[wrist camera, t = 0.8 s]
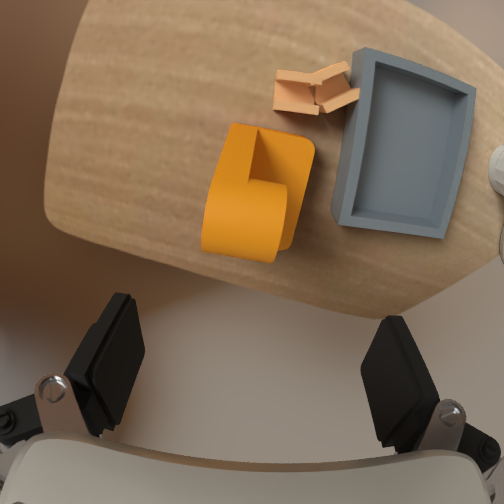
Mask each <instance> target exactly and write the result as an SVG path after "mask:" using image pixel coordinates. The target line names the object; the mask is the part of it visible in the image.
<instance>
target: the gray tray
mask: <svg viewBox="0 0 504 504" xmlns="http://www.w3.org/2000/svg"><path fill="white" fill-rule="evenodd" d="M350 87H351V89H353V88H360V92H359V99H357V100H355V101H353V102H351V103H348V105H347V113H346V120H345V127H344V134H343V141H342V147H341V154H340V160H339V166H338V172H337V178H336V184H335V189H334V195H333V200H332V205H331V213H332V215H333V216H334V218H335V220H336V222H337V224H338V225H343V226H351V227H359V228H367V229H375V230H383V231H391V232H398V233H405V234H412V235H420V236H426V237H433V238H440V239H444V236H445V233H446V230H447V227H448V223H449V220H450V217H451V214H452V210H453V207H454V203H455V200H456V196H457V193H458V189H459V185H460V181H461V177H462V173H463V168H464V164H465V159H466V154H467V150H468V144H469V139H470V133H471V127H472V121H473V114H474V106H475V98H476V88H475V87H472V86H470V85H468V84H466V83H464V82H462V81H460V80H457V79H455V78H453V77H451V76H448V75H446V74H444V73H441V72H439V71H436V70H434V69H431V68H429V67H426V66H423V65H421V64H418V63H415V62H412V61H409V60H406V59H403V58H400V57H397V56H394V55H391V54H388V53H384V52H381V51H377V50H374V49H370V48H366V47H365V48H362V49H360V50H358V51H356V52H353V61H352V71H351V80H350Z"/></svg>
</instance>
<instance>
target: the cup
mask: <svg viewBox="0 0 504 504" xmlns="http://www.w3.org/2000/svg"><path fill="white" fill-rule="evenodd" d="M488 174H489V180H490V184H491V186H492V188H493V189H494V190H495V191H496V192H498V193H499V194H501V195H503V196H504V144H503V145H500V146H499V147H497V148H496V150H495V151H494V152H493V154H492V156H491V159H490V162H489V170H488Z"/></svg>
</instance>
